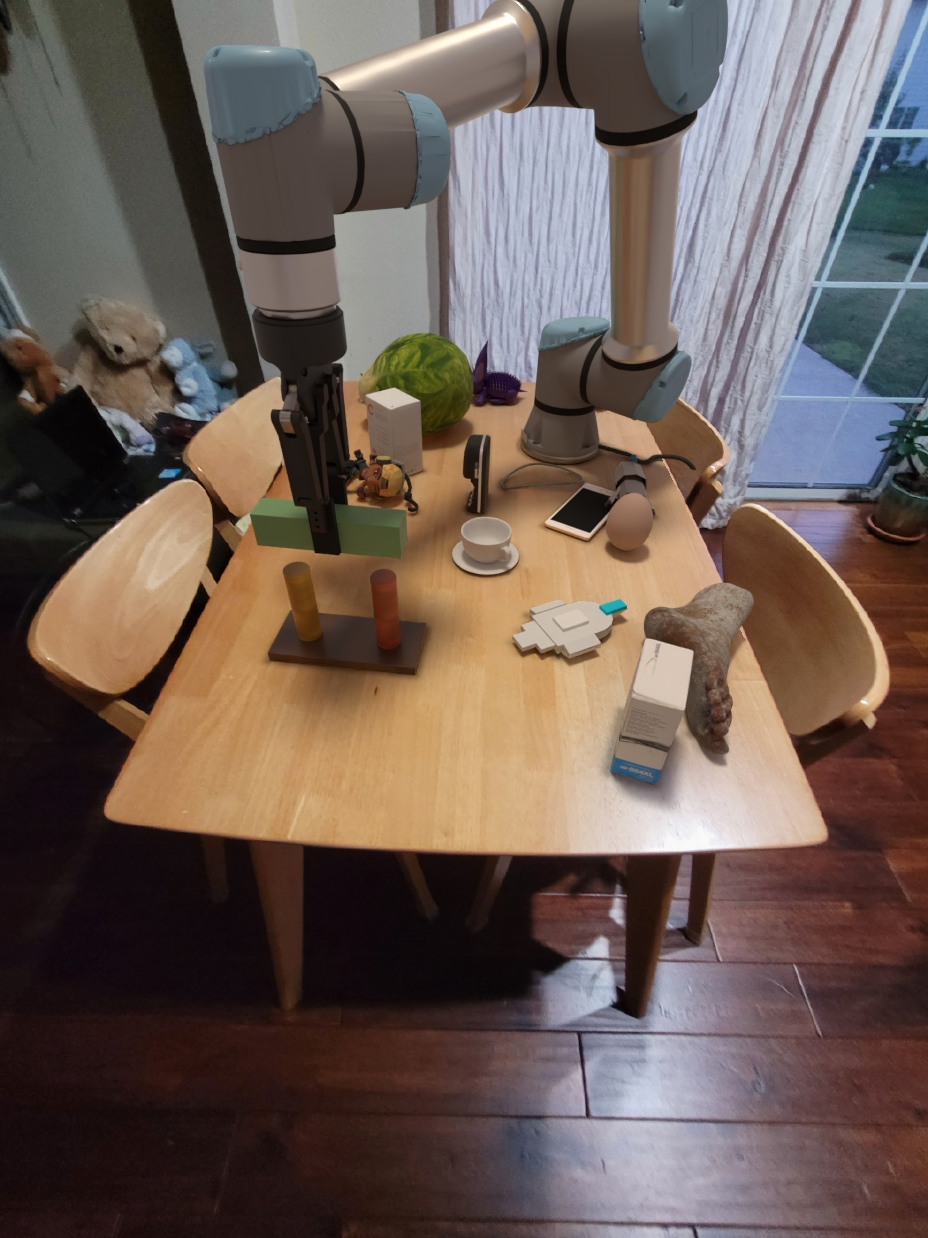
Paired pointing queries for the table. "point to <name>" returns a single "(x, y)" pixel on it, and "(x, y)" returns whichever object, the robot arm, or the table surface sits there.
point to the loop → (541, 483)
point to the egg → (629, 522)
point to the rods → (347, 629)
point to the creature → (493, 382)
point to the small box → (396, 427)
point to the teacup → (485, 546)
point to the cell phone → (583, 512)
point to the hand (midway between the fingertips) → (333, 541)
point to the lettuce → (424, 378)
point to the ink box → (652, 710)
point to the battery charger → (477, 470)
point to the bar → (356, 526)
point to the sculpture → (705, 653)
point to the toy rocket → (568, 626)
